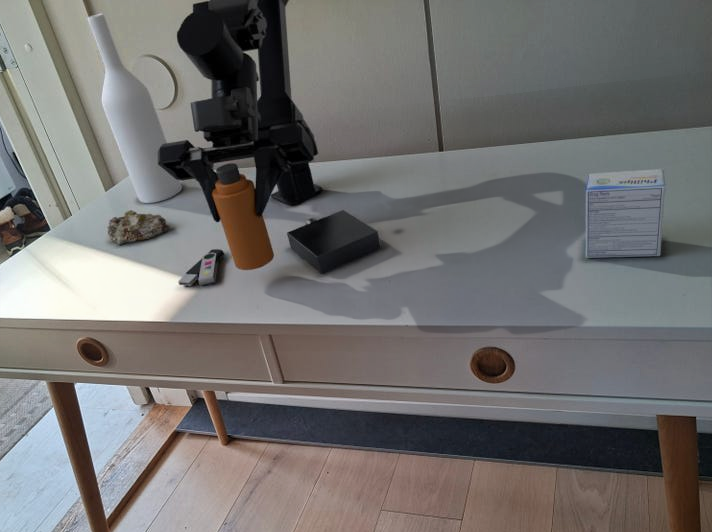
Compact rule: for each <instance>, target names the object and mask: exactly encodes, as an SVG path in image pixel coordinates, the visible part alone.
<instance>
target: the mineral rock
mask: <svg viewBox="0 0 712 532" xmlns="http://www.w3.org/2000/svg"><path fill="white" fill-rule="evenodd" d="M168 229H169V226H168V225H167V220H166V218H164V217H163V216H162V215H161V214H152V213H137V211H135V210H132V209H130V210H126V211H125V212H124V215H123V216H119V217H117V216H115V217H112V218H111V219H109V220H108V226H107V235H108V238H109V241H111V242H113V243H115V244H117V245H119V246H120V245H122V244H127V243H133V242H135V241H141V240H147V239H151V238H153V237H155V236H156V235H161V234H162V233H164V232H165V233H166V232H167V231H168Z"/></svg>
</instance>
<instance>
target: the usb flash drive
mask: <svg viewBox="0 0 712 532" xmlns="http://www.w3.org/2000/svg"><path fill="white" fill-rule="evenodd" d="M223 256H225V252H224V251H223V249H218V248H213V249H211V250H210V251H209V252H207V253H206V254H204V255H203V256H202V258H201V259H200V260H198V261H197V262H196V263H195V264H193V266H191V267H190V268H189V270H187V271H186V272H185V274H184V275H183V276H182V277H181V278H180V279H179V280H178V285H179V286H191V287H192V285H193V284H194V283H196V282H197V280H198V283H199V286H204V285H209V284H213V283H216V280H217V279H216V278H217V271H218V266H219V265H218V264H219V261H220V260H221V259H222V258H223Z"/></svg>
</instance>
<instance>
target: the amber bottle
mask: <svg viewBox="0 0 712 532" xmlns="http://www.w3.org/2000/svg"><path fill="white" fill-rule="evenodd" d="M215 172H216V173H217V175H218V179H219V180H218V181H217V182H216V183H215V186H216V188H215V189H214V190H213V192H212V195H213V198H214V201H215V205H216V208H217V211H218V214H219V217H220V223H221V227H222V229H223V232H224V235H225V239H226V241H227V245H228V247H229V251H230V253H231V257H232V259H233V263H234V266H235V268H237V269H238V270H241V271H251V270H258V269H260V268H262V267H265V266H266V265H268V264H270V263H271V262H272V261H273V259H274V258H275V253H274V250H273V247H272V243H271V239H270V236H269V232H268V229H267V226H266V222H265V218H264V214H263V215H262V216H261V217H258V216H257V215H256V210H255V183H254V181H253V180H251V179H249V178H247V176H246V175H245V174H243V173H240V169H239V167H238V164H237V163H234V162H232V163H225V164H222V165H221V166H219V167H217V168H216V170H215Z"/></svg>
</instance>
